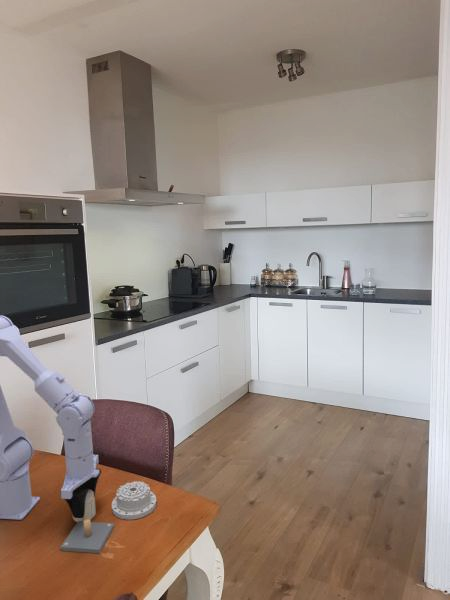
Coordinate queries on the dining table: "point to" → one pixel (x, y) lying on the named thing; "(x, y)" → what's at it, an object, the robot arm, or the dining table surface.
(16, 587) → the dining table surface
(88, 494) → the wire nut
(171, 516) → the dining table surface
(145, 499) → the mechanical component
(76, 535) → the plate
